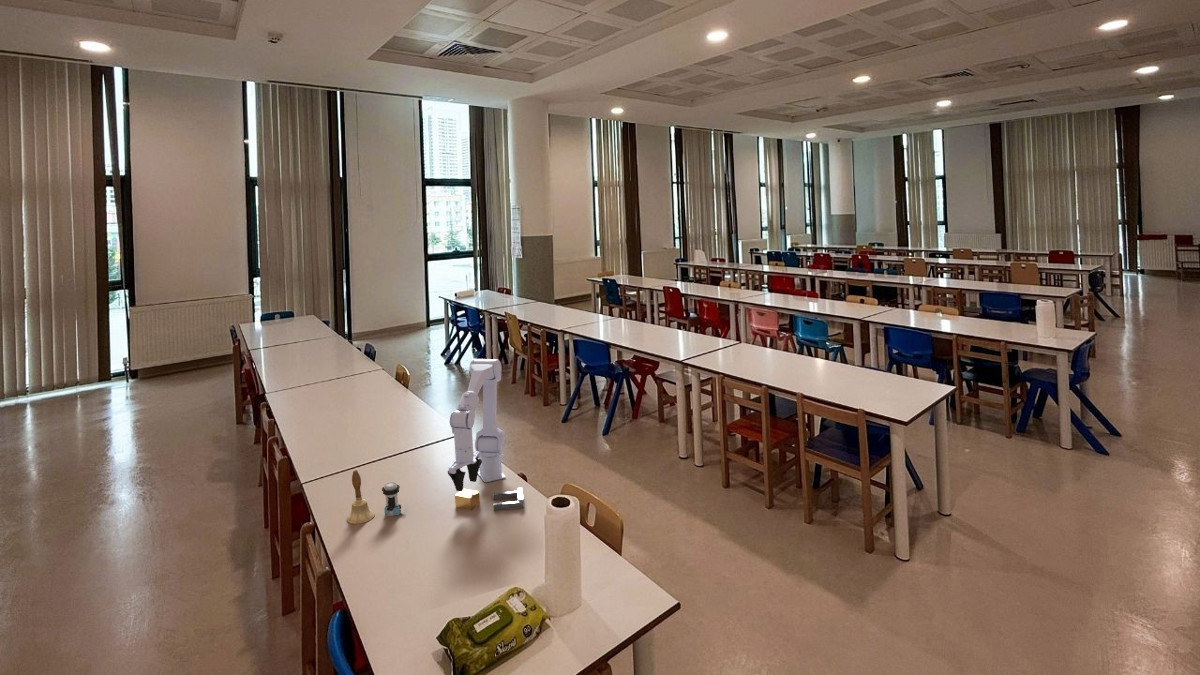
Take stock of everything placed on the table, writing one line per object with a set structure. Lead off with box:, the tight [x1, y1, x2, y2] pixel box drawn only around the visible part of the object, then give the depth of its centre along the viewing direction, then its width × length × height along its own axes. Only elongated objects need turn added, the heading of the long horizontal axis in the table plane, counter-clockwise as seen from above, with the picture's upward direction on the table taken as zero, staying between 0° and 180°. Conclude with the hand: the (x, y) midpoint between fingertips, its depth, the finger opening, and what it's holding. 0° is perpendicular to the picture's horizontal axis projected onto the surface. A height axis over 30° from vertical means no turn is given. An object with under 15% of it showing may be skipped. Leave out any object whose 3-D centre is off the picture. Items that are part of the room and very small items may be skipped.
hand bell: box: [346, 469, 375, 525], centre depth 190 cm, size 8×8×16 cm
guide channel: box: [493, 487, 524, 511], centre depth 199 cm, size 10×9×3 cm
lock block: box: [454, 488, 481, 511], centre depth 198 cm, size 6×5×4 cm
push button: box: [381, 482, 406, 517], centre depth 193 cm, size 7×5×10 cm
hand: (466, 485), depth 197 cm, fingers open, 7 cm apart
